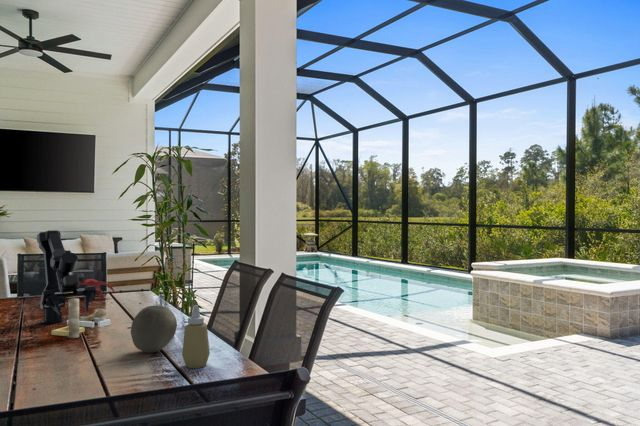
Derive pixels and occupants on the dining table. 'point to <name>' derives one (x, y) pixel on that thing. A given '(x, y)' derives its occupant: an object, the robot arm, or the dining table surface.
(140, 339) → the grey egg-shaped stone
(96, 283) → the red toy dinosaur
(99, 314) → the figurine
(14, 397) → the dining table surface
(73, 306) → the post
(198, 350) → the squeeze bottle
